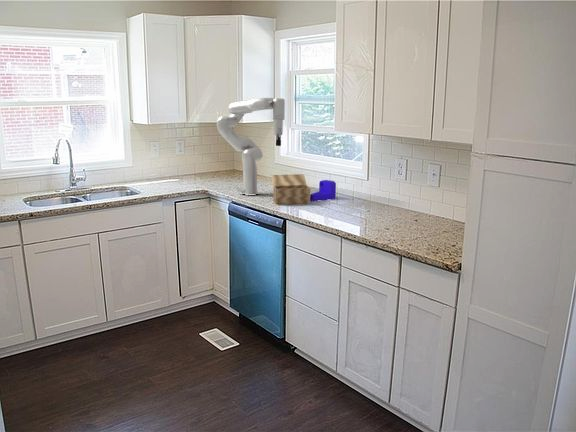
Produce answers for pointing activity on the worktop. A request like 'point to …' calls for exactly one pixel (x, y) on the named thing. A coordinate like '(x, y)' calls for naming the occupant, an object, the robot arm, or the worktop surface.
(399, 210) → the worktop surface
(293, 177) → the lid flap
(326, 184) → the bracket
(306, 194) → the open wooden box
